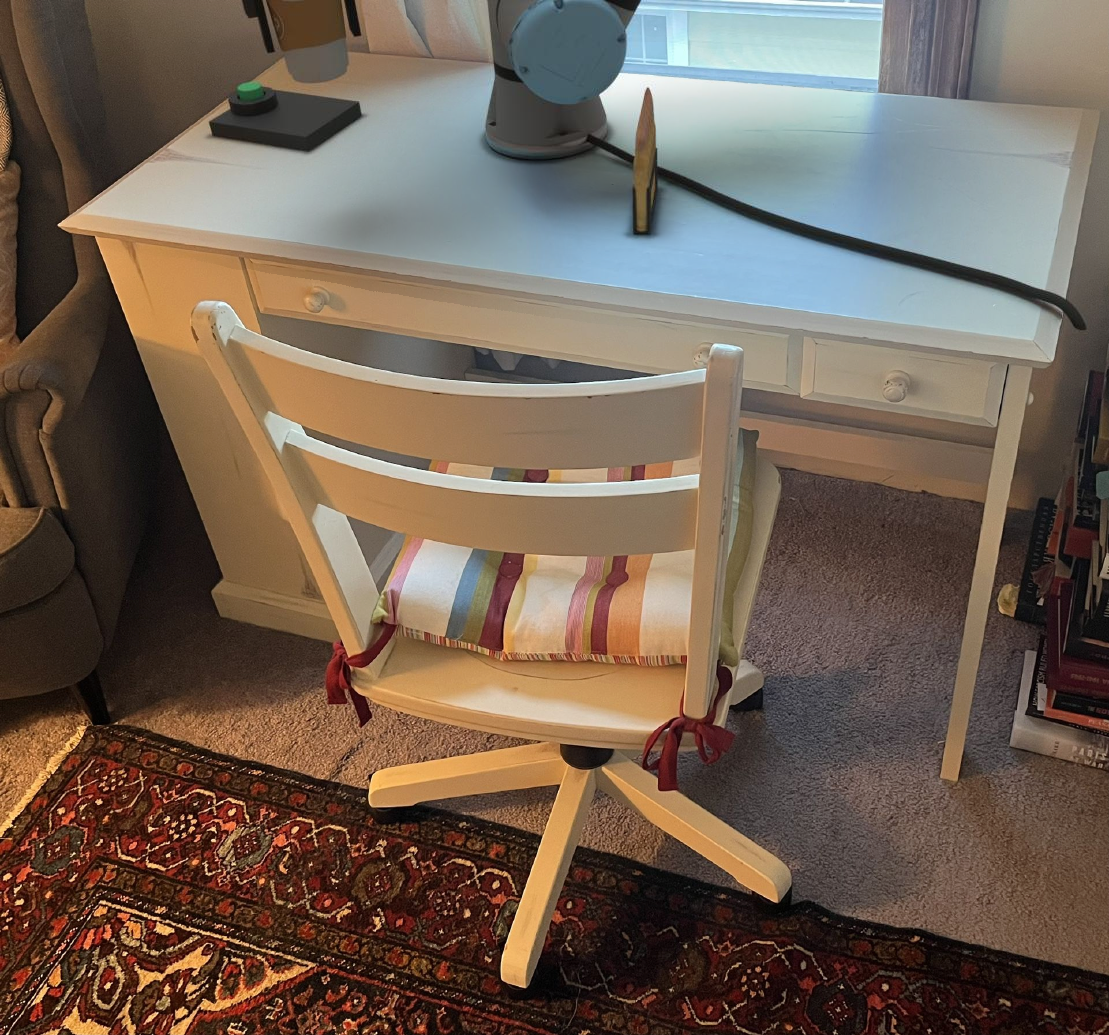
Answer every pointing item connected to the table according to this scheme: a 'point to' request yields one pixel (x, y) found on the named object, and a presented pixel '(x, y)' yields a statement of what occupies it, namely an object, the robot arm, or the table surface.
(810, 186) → the table surface
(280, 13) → the coffee cup
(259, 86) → the button
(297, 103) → the scale
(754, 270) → the table surface
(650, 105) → the ammunition clip
